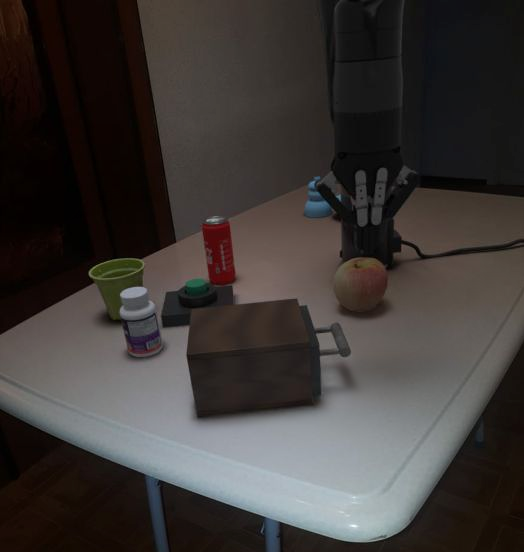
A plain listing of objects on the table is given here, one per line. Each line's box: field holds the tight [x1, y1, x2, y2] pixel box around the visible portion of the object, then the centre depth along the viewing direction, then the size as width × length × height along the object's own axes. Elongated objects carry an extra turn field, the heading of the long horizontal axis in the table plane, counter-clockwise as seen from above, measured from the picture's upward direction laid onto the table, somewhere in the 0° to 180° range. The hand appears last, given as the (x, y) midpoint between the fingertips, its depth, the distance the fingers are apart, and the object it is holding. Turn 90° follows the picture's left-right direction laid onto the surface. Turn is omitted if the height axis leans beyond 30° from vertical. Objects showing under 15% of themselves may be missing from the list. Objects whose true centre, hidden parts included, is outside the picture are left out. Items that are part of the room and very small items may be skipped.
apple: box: [332, 258, 389, 313], centre depth 91 cm, size 9×9×8 cm
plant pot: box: [88, 257, 146, 321], centre depth 96 cm, size 9×9×9 cm
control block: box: [160, 282, 235, 328], centre depth 96 cm, size 12×10×4 cm
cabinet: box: [185, 297, 314, 418], centre depth 73 cm, size 15×13×9 cm
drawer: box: [299, 304, 352, 397], centre depth 73 cm, size 18×11×7 cm, turn 94°
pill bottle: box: [120, 286, 164, 358], centre depth 84 cm, size 5×5×10 cm
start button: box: [184, 278, 208, 295], centre depth 95 cm, size 4×4×2 cm
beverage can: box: [201, 215, 236, 286], centre depth 105 cm, size 5×5×12 cm
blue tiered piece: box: [304, 176, 341, 219], centre depth 137 cm, size 18×10×9 cm, turn 56°
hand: (366, 251), depth 71 cm, fingers closed
